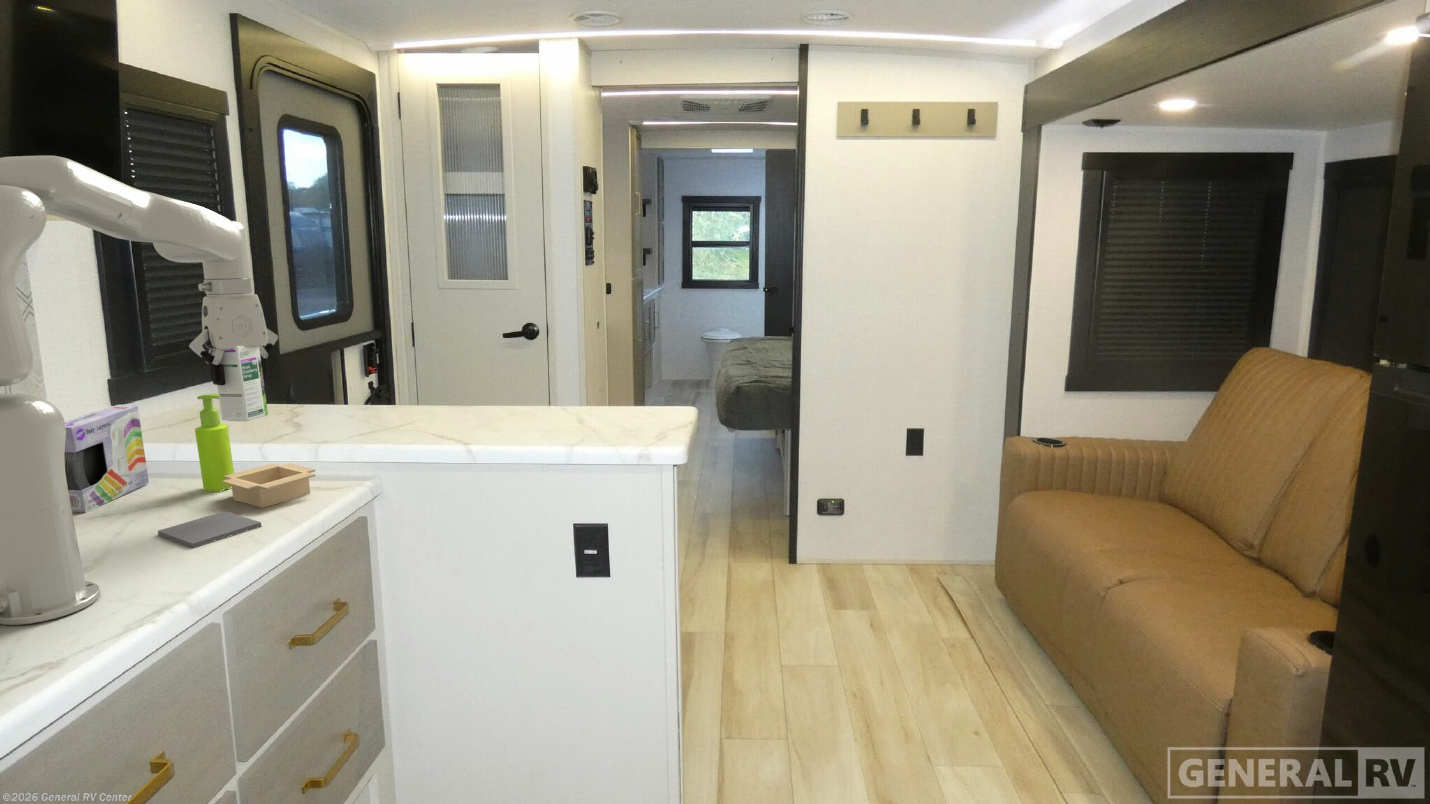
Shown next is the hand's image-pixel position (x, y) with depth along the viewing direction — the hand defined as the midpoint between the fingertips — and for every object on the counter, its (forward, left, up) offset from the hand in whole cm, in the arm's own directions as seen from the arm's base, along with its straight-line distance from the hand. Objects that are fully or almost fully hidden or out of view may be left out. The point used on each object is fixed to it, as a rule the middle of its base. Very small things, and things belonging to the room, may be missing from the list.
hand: (240, 380), depth 163 cm
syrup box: (0, 0, -7) cm, 7 cm away
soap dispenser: (+3, +17, -25) cm, 31 cm away
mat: (-12, -7, -25) cm, 29 cm away
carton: (+5, +2, -25) cm, 25 cm away
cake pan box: (-13, +30, -25) cm, 42 cm away
